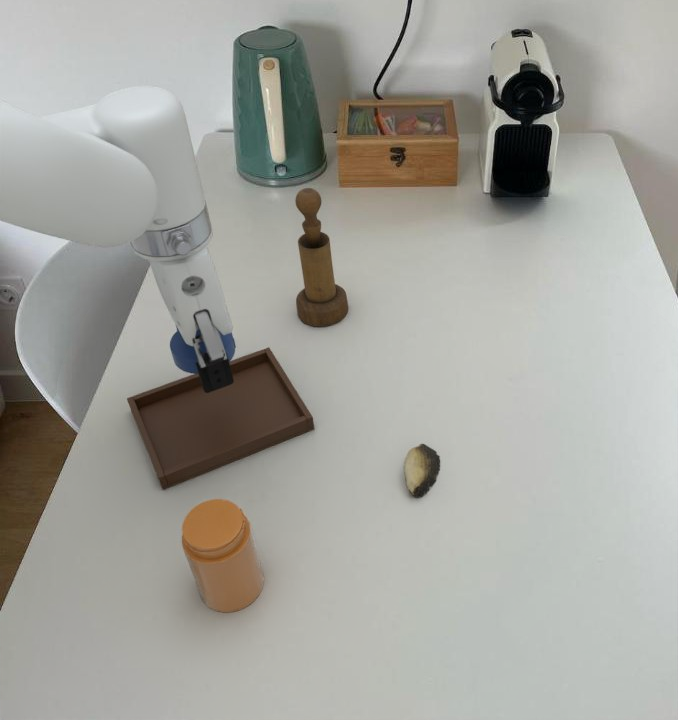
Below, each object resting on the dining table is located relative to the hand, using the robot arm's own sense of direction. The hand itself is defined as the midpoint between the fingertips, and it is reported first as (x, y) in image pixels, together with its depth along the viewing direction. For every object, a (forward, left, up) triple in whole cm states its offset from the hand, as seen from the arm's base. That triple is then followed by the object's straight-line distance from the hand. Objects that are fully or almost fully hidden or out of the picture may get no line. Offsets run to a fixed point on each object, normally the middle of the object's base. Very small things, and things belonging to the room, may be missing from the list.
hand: (207, 365), depth 87 cm
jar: (-6, -21, -8) cm, 23 cm away
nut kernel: (+16, -18, -9) cm, 26 cm away
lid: (0, 0, +3) cm, 3 cm away
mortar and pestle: (+18, +12, -9) cm, 23 cm away
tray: (0, 0, -8) cm, 8 cm away
